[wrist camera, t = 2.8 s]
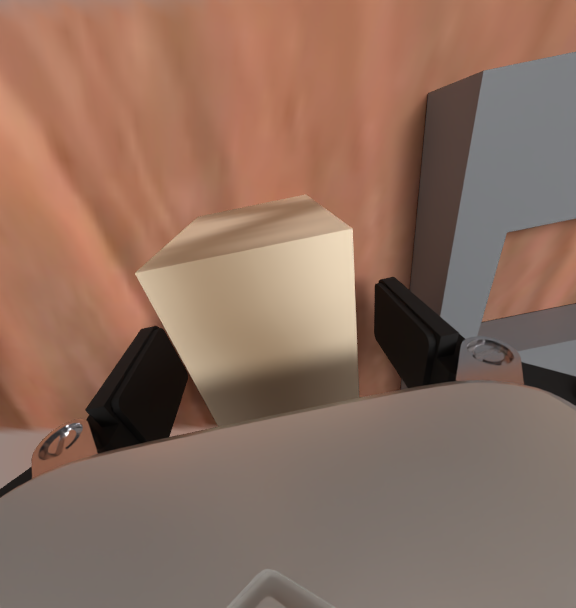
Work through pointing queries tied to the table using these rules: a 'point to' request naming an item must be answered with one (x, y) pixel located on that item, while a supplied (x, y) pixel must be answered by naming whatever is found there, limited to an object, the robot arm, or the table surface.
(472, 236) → the slot board
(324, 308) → the key block
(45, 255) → the table surface
